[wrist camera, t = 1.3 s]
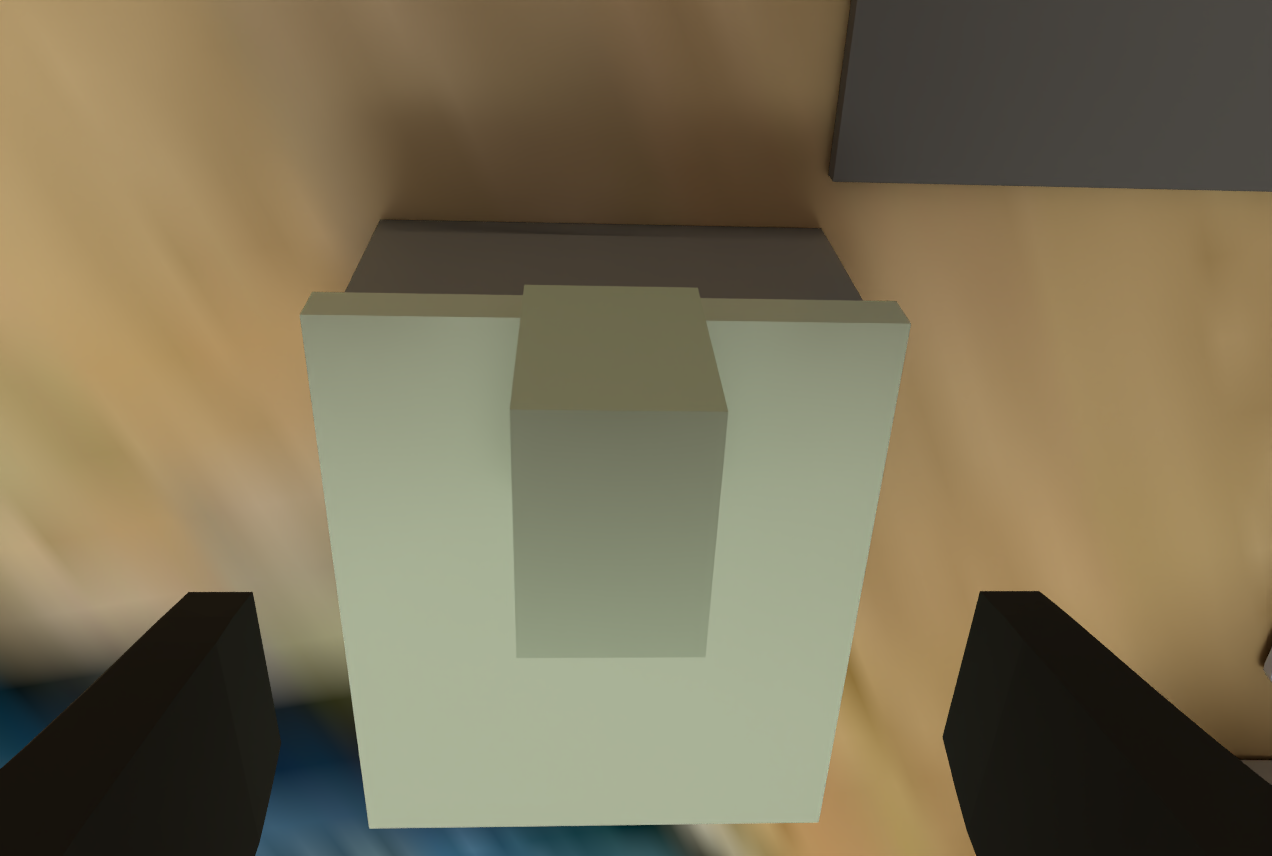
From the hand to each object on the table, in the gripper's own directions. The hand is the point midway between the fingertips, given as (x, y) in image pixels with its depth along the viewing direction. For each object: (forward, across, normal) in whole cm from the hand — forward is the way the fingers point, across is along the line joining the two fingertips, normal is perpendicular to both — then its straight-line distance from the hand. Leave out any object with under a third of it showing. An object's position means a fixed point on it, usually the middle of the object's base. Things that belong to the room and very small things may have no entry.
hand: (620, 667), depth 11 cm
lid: (+6, 0, +4) cm, 8 cm away
